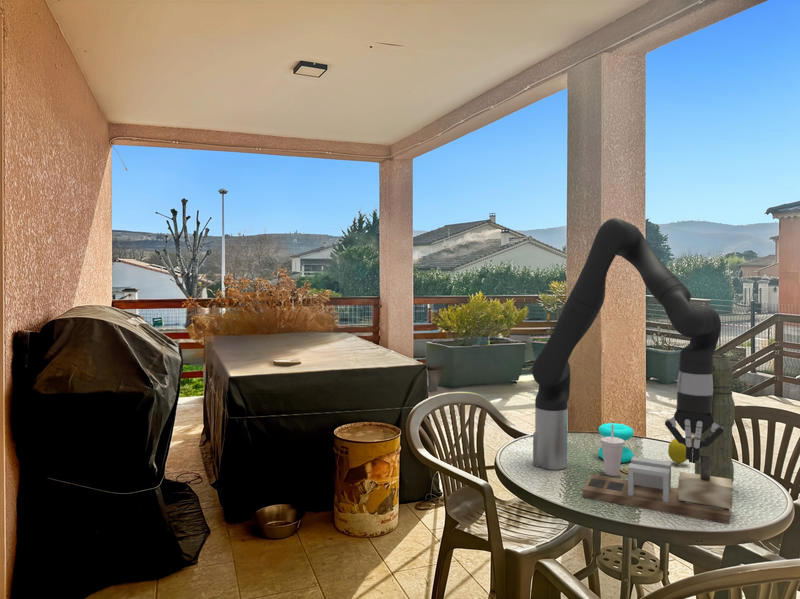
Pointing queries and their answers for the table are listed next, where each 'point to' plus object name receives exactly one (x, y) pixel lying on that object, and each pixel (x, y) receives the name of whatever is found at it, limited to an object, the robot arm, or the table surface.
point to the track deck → (650, 499)
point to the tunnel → (649, 475)
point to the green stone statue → (720, 421)
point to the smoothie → (612, 453)
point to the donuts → (619, 432)
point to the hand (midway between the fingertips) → (692, 461)
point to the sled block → (705, 487)
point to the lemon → (677, 451)
